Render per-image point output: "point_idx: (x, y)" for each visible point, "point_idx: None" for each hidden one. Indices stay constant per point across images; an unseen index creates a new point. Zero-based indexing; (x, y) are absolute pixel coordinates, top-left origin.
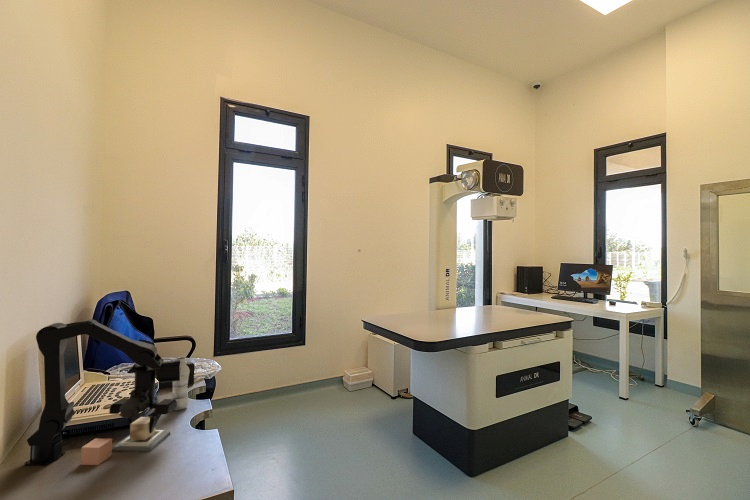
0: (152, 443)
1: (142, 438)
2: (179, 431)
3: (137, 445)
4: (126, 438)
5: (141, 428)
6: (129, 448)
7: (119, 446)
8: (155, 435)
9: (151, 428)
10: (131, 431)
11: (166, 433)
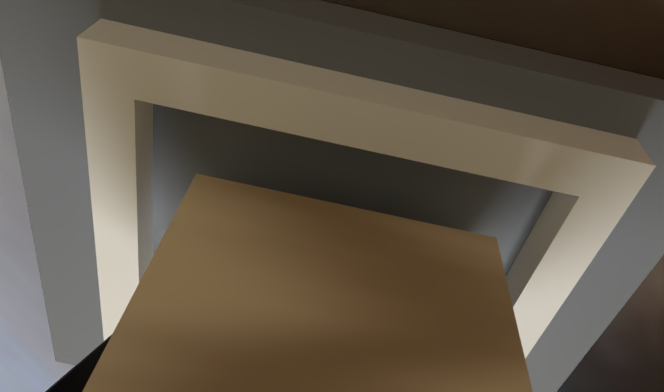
0: (69, 97)
1: (250, 203)
2: (12, 361)
3: (298, 64)
4: (573, 328)
5: (229, 387)
6: (436, 39)
7: (640, 117)
8: (127, 284)
9: (72, 374)
10: (495, 366)
11: (68, 329)
